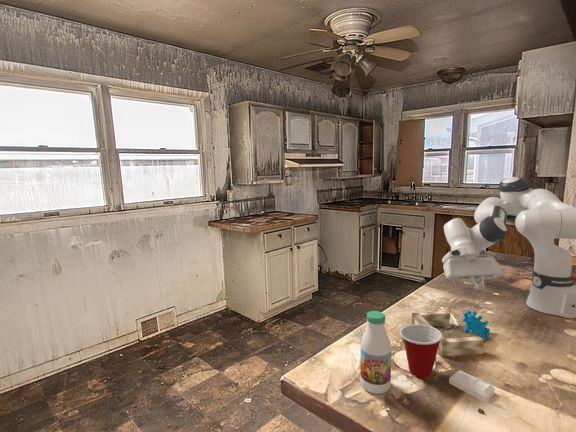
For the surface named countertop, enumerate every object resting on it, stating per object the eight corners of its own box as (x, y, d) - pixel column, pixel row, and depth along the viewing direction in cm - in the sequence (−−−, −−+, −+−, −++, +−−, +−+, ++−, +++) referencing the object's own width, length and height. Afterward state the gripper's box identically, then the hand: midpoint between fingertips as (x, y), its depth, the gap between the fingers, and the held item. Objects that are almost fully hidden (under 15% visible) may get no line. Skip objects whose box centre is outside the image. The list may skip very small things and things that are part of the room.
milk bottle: (356, 377, 89) (356, 308, 86) (383, 374, 90) (384, 306, 87) (365, 396, 82) (366, 322, 79) (395, 393, 82) (396, 320, 79)
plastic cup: (402, 356, 98) (402, 319, 96) (441, 366, 93) (443, 326, 91) (395, 377, 89) (396, 337, 87) (439, 389, 84) (441, 346, 82)
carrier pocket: (446, 322, 118) (447, 310, 117) (483, 353, 98) (484, 339, 98) (411, 324, 117) (412, 313, 117) (441, 356, 97) (442, 342, 97)
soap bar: (458, 377, 89) (458, 368, 88) (494, 395, 82) (495, 385, 81) (448, 384, 86) (449, 375, 86) (485, 403, 79) (486, 394, 78)
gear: (476, 340, 102) (460, 310, 108) (463, 347, 107) (447, 317, 112) (499, 337, 107) (482, 308, 113) (485, 343, 111) (469, 315, 117)
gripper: (487, 257, 129) (502, 290, 122) (437, 260, 128) (449, 293, 121) (496, 250, 124) (512, 283, 116) (444, 252, 123) (457, 286, 115)
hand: (480, 288), depth 118 cm, fingers closed
